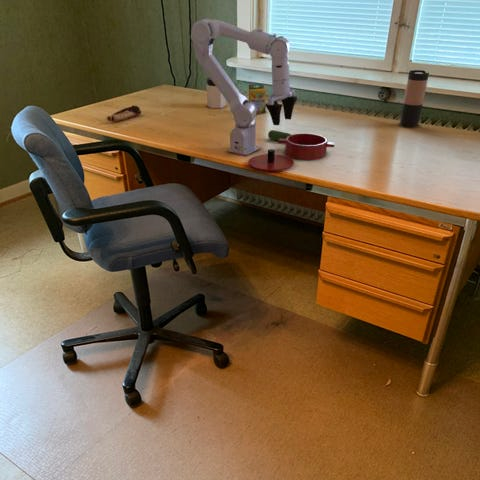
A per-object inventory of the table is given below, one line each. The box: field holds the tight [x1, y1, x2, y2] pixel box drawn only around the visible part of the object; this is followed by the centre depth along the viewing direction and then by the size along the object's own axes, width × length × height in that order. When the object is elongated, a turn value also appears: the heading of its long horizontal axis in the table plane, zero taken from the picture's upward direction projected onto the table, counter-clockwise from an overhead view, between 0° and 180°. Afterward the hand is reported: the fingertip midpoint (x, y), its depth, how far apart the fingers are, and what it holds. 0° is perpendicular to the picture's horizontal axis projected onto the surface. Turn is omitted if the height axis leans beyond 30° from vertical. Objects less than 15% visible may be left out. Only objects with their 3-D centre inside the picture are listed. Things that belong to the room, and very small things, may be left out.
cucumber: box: [267, 129, 292, 142], centre depth 186 cm, size 10×3×3 cm, turn 55°
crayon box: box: [248, 83, 267, 114], centre depth 216 cm, size 7×3×12 cm, turn 105°
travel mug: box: [399, 69, 430, 129], centre depth 197 cm, size 8×8×20 cm
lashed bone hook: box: [106, 104, 142, 122], centre depth 212 cm, size 9×5×18 cm
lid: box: [247, 148, 295, 172], centre depth 165 cm, size 15×15×5 cm
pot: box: [277, 132, 336, 161], centre depth 174 cm, size 14×20×5 cm
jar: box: [205, 76, 227, 109], centre depth 226 cm, size 9×8×12 cm
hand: (282, 122), depth 170 cm, fingers open, 7 cm apart
